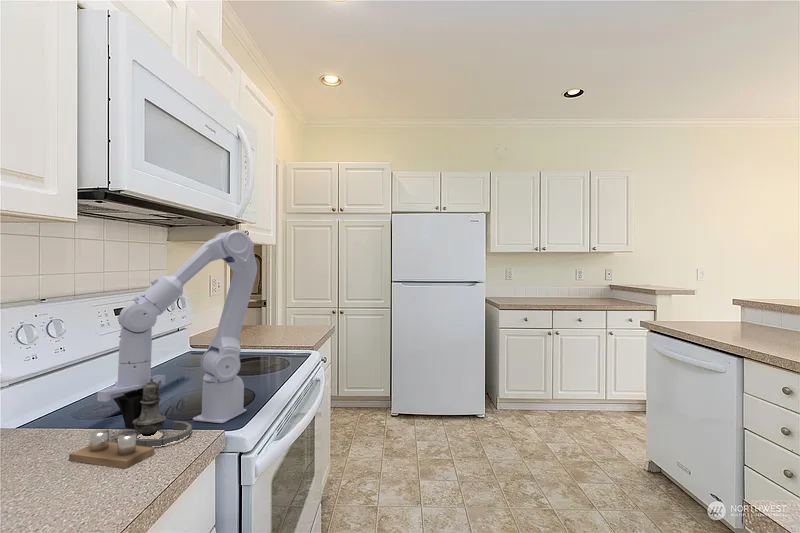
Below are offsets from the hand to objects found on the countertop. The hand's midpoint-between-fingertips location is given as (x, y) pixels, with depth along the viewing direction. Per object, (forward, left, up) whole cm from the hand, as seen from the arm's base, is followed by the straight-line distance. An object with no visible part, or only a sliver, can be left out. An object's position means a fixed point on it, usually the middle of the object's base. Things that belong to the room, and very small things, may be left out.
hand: (132, 427), depth 84 cm
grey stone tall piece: (0, +5, -2) cm, 5 cm away
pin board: (+10, +6, -1) cm, 12 cm away
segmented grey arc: (0, +9, -1) cm, 9 cm away
